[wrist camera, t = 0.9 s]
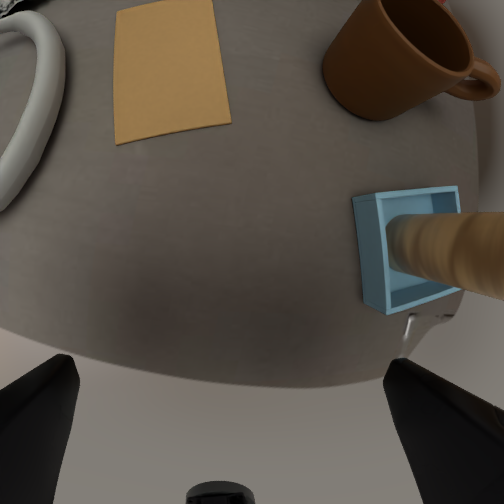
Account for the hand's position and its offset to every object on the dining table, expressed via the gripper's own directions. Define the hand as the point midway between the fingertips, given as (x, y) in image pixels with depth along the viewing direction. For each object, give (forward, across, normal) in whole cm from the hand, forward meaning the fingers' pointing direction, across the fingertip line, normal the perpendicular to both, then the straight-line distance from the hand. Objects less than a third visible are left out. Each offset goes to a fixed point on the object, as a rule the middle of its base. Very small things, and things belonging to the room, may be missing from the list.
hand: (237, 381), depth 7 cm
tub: (+13, -13, 0) cm, 19 cm away
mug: (+16, -12, -12) cm, 24 cm away
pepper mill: (+13, -13, 0) cm, 18 cm away
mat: (+16, +5, -12) cm, 21 cm away
